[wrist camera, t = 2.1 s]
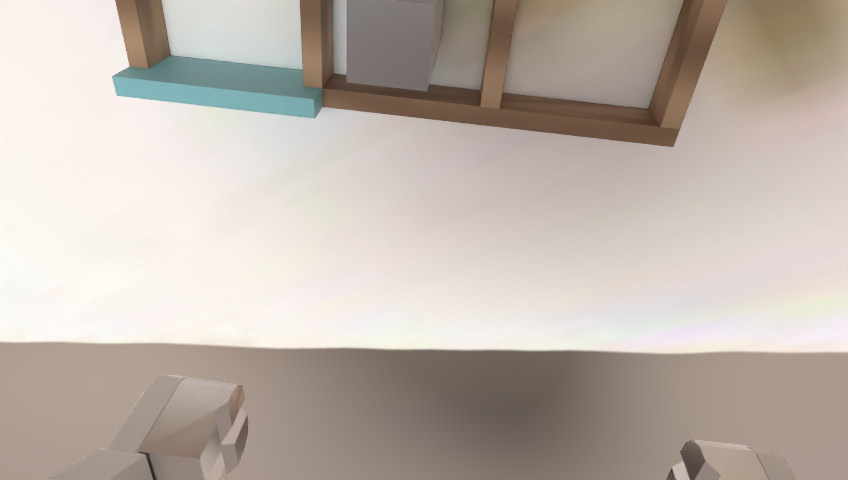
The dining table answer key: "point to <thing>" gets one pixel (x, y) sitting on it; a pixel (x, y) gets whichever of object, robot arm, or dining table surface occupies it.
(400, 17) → the tall grey block
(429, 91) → the rack
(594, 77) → the dining table surface
